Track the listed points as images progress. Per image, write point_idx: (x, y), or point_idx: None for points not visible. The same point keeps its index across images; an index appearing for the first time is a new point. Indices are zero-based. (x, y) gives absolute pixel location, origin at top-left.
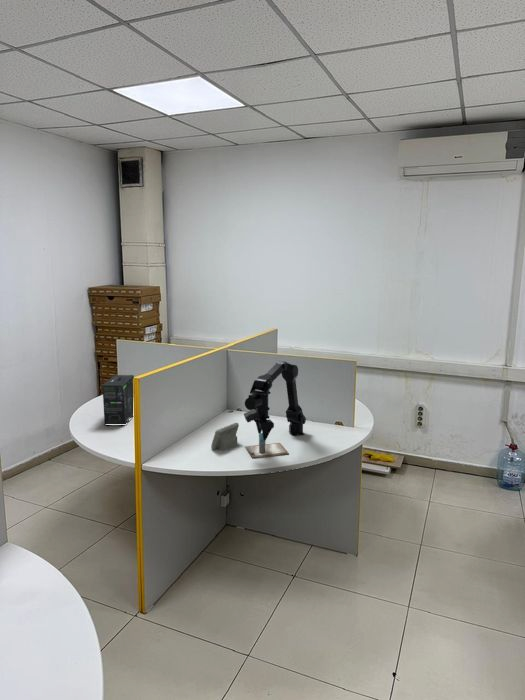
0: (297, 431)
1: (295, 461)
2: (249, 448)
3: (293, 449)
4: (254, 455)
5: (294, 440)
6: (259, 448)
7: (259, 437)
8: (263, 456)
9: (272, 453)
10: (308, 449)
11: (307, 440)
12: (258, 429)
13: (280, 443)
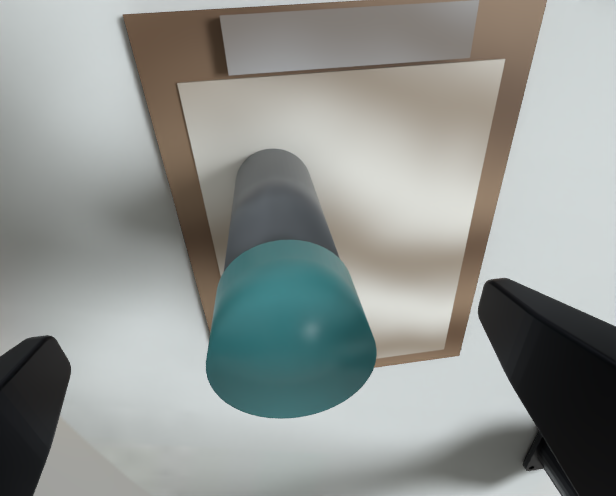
0: (553, 465)
1: (81, 402)
2: (397, 29)
3: None
4: (196, 67)
5: (467, 423)
6: (260, 171)
7: (254, 267)
8: (170, 180)
9: None
10: (297, 468)
11: (433, 471)
12: (556, 349)
13: (442, 357)
